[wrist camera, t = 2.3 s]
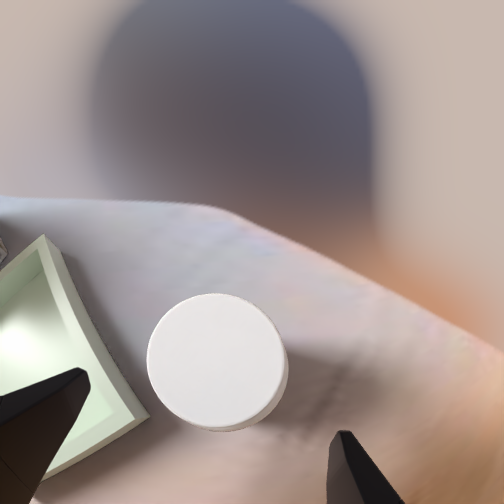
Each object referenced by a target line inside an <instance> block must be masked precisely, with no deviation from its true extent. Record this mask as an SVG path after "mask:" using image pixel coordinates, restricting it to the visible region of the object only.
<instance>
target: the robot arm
mask: <svg viewBox="0 0 504 504" xmlns="http://www.w3.org/2000/svg"><path fill="white" fill-rule="evenodd" d="M90 390H91V384H90V380H89V376H88V373H87V371H86V370H84V369H82V368H79V367H75V368H73V369H70V370H68V371H65V372H63V373H60V374H58V375H55V376H53V377H50V378H47V379H45V380H42V381H40V382H37V383H34V384H32V385H29V386H26V387H24V388H21V389H18V390H16V391H13V392H10V393H7V394H5V395H2V396H0V504H29V503H30V501H31V499H32V497H33V495H34V493H35V491H36V489H37V487H38V486H39V484H40V482H41V480H42V478H43V476H44V475H45V473H46V471H47V469H48V468H49V466H50V464H51V462H52V461H53V459H54V457H55V455H56V454H57V452H58V450H59V449H60V447H61V445H62V444H63V442H64V440H65V439H66V437H67V435H68V434H69V432H70V430H71V429H72V427H73V425H74V424H75V422H76V420H77V418H78V416H79V414H80V412H81V410H82V407H83V405H84V403H85V401H86V399H87V397H88V395H89V393H90ZM326 485H327V504H405V503H404V501H403V500H402V499H401V498H400V496H399V495H398V494H397V492H396V491H395V490H394V488H393V487H392V486H391V485H390V483H389V482H388V481H387V479H386V478H385V477H384V475H383V474H382V473H381V471H380V470H379V469H378V467H377V466H376V465H375V463H374V462H373V461H372V459H371V458H370V457H369V455H368V454H367V452H366V451H365V450H364V448H363V447H362V446H361V444H360V443H359V442H358V440H357V439H356V438H355V436H354V435H353V433H352V432H351V431H347V430H339V431H338V432H337V434H336V435H335V437H334V439H333V440H332V442H331V444H330V447H329V459H328V472H327V484H326Z"/></svg>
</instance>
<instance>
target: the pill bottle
mask: <svg viewBox="0 0 504 504" xmlns="http://www.w3.org/2000/svg"><path fill="white" fill-rule="evenodd" d="M147 370H148V375H149V379H150V382H151V384H152V387H153V389H154V391H155V393H156V394H157V396H158V397H159V399H160V400H161V401H162V403H163V404H164V405H165V406H166V407H167V408H168V409H169V410H170V411H171V412H173V413H174V414H175V415H177V416H178V417H180V418H181V419H183V420H185V421H187V422H188V423H190V424H192V425H194V426H196V427H199V428H202V429H205V430H209V431H217V432H229V431H236V430H240V429H244V428H246V427H249V426H251V425H253V424H255V423H257V422H259V421H260V420H262V419H263V418H265V417H266V416H267V415H268V414H269V413H270V412H271V411H272V410H273V409H274V408H275V407H276V406H277V404H278V402H279V401H280V399H281V397H282V396H283V393H284V391H285V388H286V385H287V380H288V371H289V366H288V358H287V353H286V350H285V347H284V344H283V342H282V339H281V336H280V334H279V332H278V330H277V328H276V326H275V325H274V323H273V322H272V321H271V319H270V318H269V317H268V316H267V315H266V314H265V313H264V312H263V311H262V310H261V309H259V308H258V307H257V306H255V305H254V304H252V303H250V302H248V301H246V300H244V299H242V298H239V297H236V296H233V295H227V294H218V293H210V294H203V295H199V296H195V297H192V298H189V299H187V300H185V301H183V302H181V303H179V304H177V305H176V306H174V307H173V308H172V309H171V310H169V311H168V312H167V313H166V314H165V315H164V316H163V317H162V319H161V320H160V321H159V323H158V324H157V326H156V327H155V329H154V331H153V333H152V335H151V338H150V341H149V345H148V350H147Z"/></svg>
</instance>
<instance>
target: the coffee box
mask: <svg viewBox="0 0 504 504" xmlns="http://www.w3.org/2000/svg"><path fill="white" fill-rule="evenodd" d="M7 254H8V252H7V249H6V247H5V245H4V244H3V242H2V240H1V238H0V264H1V262H2V261H3V260H4V258H5V257H6V256H7Z"/></svg>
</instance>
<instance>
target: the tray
mask: <svg viewBox="0 0 504 504" xmlns="http://www.w3.org/2000/svg"><path fill="white" fill-rule="evenodd" d="M75 367H79V368H82V369H84V370H86V371H87V373H88V376H89V380H90V384H91V390H90V393H89V395H88V397H87V399H86V401H85V403H84V405H83V407H82V410H81V412H80V414H79V416H78V418H77V420H76V422H75V424H74V425H73V427H72V429H71V430H70V432H69V434H68V435H67V437H66V439H65V440H64V442H63V444H62V445H61V447H60V449H59V450H58V452H57V454H56V455H55V457H54V459H53V461H52V462H51V464H50V466H49V468H48V469H47V471H46V473H45V475H44V476H43V478H42V480H41V482H42V481H44V480H46V479H48V478H50V477H51V476H53V475H55V474H57V473H59V472H61V471H63V470H65V469H66V468H68V467H70V466H72V465H74V464H75V463H77V462H79V461H81V460H82V459H84V458H86V457H87V456H89V455H91V454H93V453H94V452H96V451H98V450H99V449H101V448H103V447H104V446H106V445H107V444H109V443H111V442H112V441H114V440H116V439H117V438H119V437H120V436H122V435H123V434H125V433H127V432H128V431H130V430H131V429H133V428H134V427H136V426H137V425H139V424H140V423H142V422H143V421H145V420H146V419H148V418H149V417H151V416H150V415H149V413H148V412H147V410H146V409H145V408H144V406H143V405H142V403H141V402H140V401H139V399H138V398H137V396H136V395H135V393H134V392H133V390H132V389H131V387H130V386H129V384H128V383H127V381H126V380H125V378H124V377H123V375H122V373H121V372H120V370H119V369H118V367H117V365H116V364H115V362H114V360H113V359H112V357H111V355H110V354H109V352H108V350H107V348H106V347H105V345H104V343H103V341H102V339H101V338H100V336H99V334H98V332H97V330H96V328H95V327H94V325H93V323H92V321H91V319H90V317H89V315H88V313H87V311H86V309H85V307H84V305H83V303H82V300H81V298H80V296H79V294H78V292H77V290H76V287H75V285H74V283H73V281H72V278H71V276H70V274H69V271H68V269H67V266H66V264H65V261H64V259H63V256H62V254H61V251H60V250H59V249H58V248H57V247H56V246H55V245H54V244H53V243H52V242H51V241H50V240H49V239H48V238H47V237H46V235H45V234H44V233H43V234H42V235H41V236H40V237H38V238H37V239H36V240H35V241H34V242H32V243H31V244H30V245H29V246H28V247H26V248H25V249H24V250H23V251H22V252H21V253H20V254H18V255H17V256H16V257H15V258H14V259H13V260H12V261H11V262H9V263H8V264H7V265H6V266H5V267H4V268H3V269H2V270H1V271H0V396H2V395H5V394H7V393H10V392H13V391H16V390H18V389H21V388H24V387H26V386H29V385H32V384H34V383H37V382H40V381H42V380H45V379H47V378H50V377H53V376H55V375H58V374H60V373H63V372H65V371H68V370H70V369H73V368H75Z"/></svg>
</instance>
